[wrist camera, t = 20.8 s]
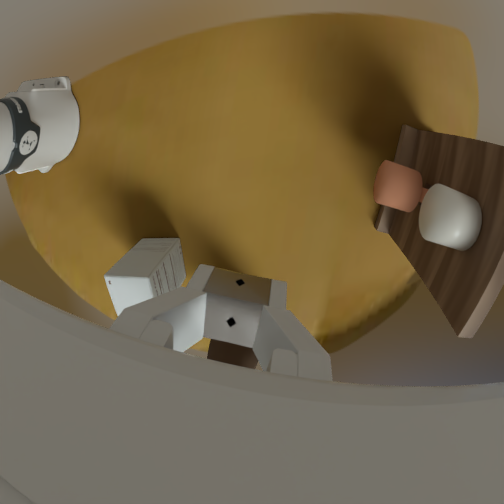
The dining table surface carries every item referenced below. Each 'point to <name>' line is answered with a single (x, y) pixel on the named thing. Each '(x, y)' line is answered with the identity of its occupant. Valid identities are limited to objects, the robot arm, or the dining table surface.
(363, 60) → the dining table surface
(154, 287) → the supplement box
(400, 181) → the terracotta plug
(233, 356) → the beer bottle
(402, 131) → the plug panel
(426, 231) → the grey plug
